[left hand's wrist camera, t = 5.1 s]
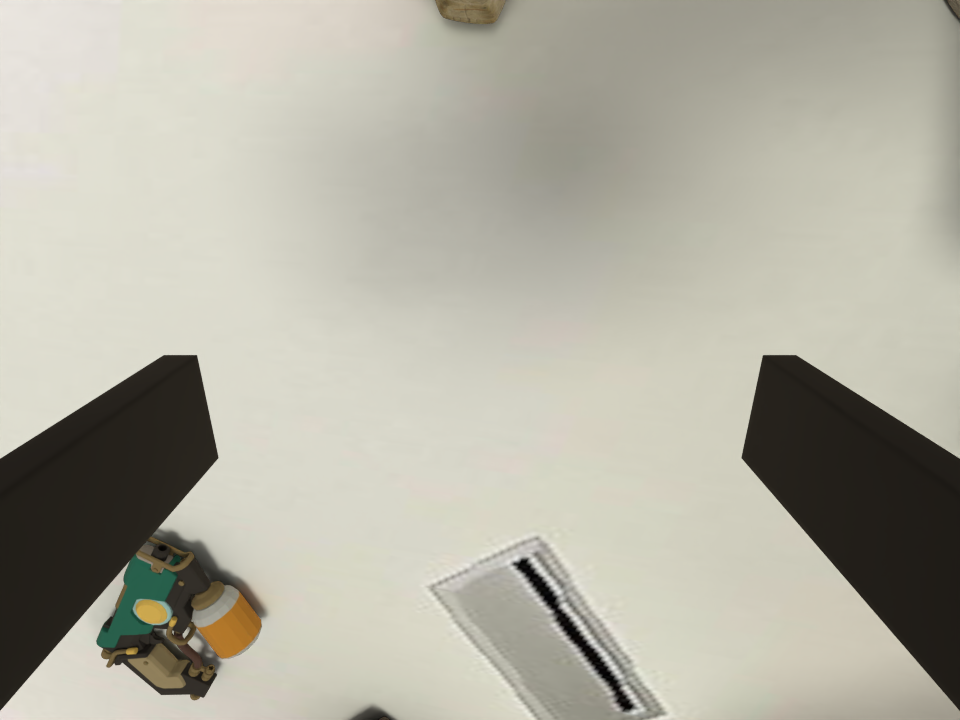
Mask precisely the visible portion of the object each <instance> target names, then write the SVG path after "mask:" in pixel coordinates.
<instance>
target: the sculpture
mask: <svg viewBox="0 0 960 720" xmlns="http://www.w3.org/2000/svg"><path fill="white" fill-rule="evenodd" d="M435 1H436V4H437V7H438V9H439V11H440V13H441V15H442V16H443V17H444V18H446V19H450V20H454V21H460V22H466V23H475V24H489V23H494V22H495V21H496V20H497V18H498V17H499V15H500V13H501V10H502V8H503V6H504V4H505V1H506V0H435Z"/></svg>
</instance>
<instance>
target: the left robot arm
mask: <svg viewBox="0 0 960 720" xmlns="http://www.w3.org/2000/svg"><path fill="white" fill-rule="evenodd" d="M947 1H948V3H949V4H950V6H951V8H952V9H953V11H954V12H955V13H956V15H957V16H958V17H959V18H960V0H947ZM217 459H218V453H217V448H216V444H215V439H214V434H213V429H212V425H211V420H210V415H209V410H208V406H207V401H206V396H205V391H204V387H203V382H202V377H201V372H200V367H199V363H198V358H197V355H164V356H162V357H160V358H159V359H157V360H156V361H154V362H152V363H151V364H149V365H148V366H146V367H145V368H143V369H141V370H140V371H138V372H137V373H135V374H134V375H132V376H130V377H129V378H127V379H126V380H124V381H122V382H121V383H119V384H118V385H116V386H115V387H113V388H111V389H110V390H108V391H107V392H105V393H103V394H102V395H100V396H99V397H97V398H96V399H94V400H92V401H91V402H89V403H88V404H86V405H85V406H83V407H81V408H80V409H78V410H77V411H75V412H73V413H72V414H70V415H69V416H67V417H66V418H64V419H62V420H61V421H59V422H58V423H56V424H54V425H53V426H51V427H50V428H48V429H47V430H45V431H43V432H42V433H40V434H39V435H37V436H36V437H34V438H32V439H31V440H29V441H28V442H26V443H24V444H23V445H21V446H20V447H18V448H17V449H15V450H13V451H12V452H10V453H9V454H7V455H5V456H4V457H2V458H1V459H0V710H1V709H2V708H3V707H4V706H5V705H6V703H7V702H8V701H9V700H10V699H11V698H12V696H13V695H14V694H15V693H16V692H17V691H18V689H19V688H20V687H21V686H22V685H23V684H24V683H25V681H26V680H27V679H28V678H29V677H30V676H31V674H32V673H33V672H34V671H35V670H36V669H37V667H38V666H39V665H40V664H41V663H42V662H43V661H44V659H45V658H46V657H47V656H48V655H49V654H50V652H51V651H52V650H53V649H54V648H55V647H56V645H57V644H58V643H59V642H60V641H61V640H62V639H63V637H64V636H65V635H66V634H67V633H68V632H69V630H70V629H71V628H72V627H73V626H74V625H75V623H76V622H77V621H78V620H79V619H80V618H81V617H82V615H83V614H84V613H85V612H86V611H87V610H88V608H89V607H90V606H91V605H92V604H93V603H94V601H95V600H96V599H97V598H98V597H99V596H100V595H101V593H102V592H103V591H104V590H105V589H106V588H107V586H108V585H109V584H110V583H111V582H112V581H113V579H114V578H115V577H116V576H117V575H118V574H119V573H120V571H121V570H122V569H123V568H124V567H125V566H126V564H127V563H128V562H129V561H130V560H131V559H132V558H133V556H134V555H135V554H136V553H137V552H138V551H139V549H140V548H141V547H142V546H143V545H144V544H145V542H146V541H147V540H148V539H149V538H150V537H151V536H152V534H153V533H154V532H155V531H156V530H157V529H158V527H159V526H160V525H161V524H162V523H163V522H164V520H165V519H166V518H167V517H168V516H169V515H170V514H171V512H172V511H173V510H174V509H175V508H176V507H177V505H178V504H179V503H180V502H181V501H182V500H183V498H184V497H185V496H186V495H187V494H188V493H189V492H190V490H191V489H192V488H193V487H194V486H195V485H196V483H197V482H198V481H199V480H200V479H201V478H202V476H203V475H204V474H205V473H206V472H207V471H208V470H209V468H210V467H211V466H212V465H213V464H214V463H215V461H216V460H217ZM742 459H743V460H744V461H745V463H746V464H747V465H748V466H749V467H750V468H751V470H752V471H753V472H754V473H755V474H756V475H757V476H758V478H759V479H760V480H761V481H762V482H763V483H764V485H765V486H766V487H767V488H768V489H769V490H770V492H771V493H772V494H773V495H774V496H775V497H776V498H777V500H778V501H779V502H780V503H781V504H782V505H783V507H784V508H785V509H786V510H787V511H788V512H789V514H790V515H791V516H792V517H793V518H794V519H795V520H796V522H797V523H798V524H799V525H800V526H801V527H802V529H803V530H804V531H805V532H806V533H807V534H808V536H809V537H810V538H811V539H812V540H813V541H814V542H815V544H816V545H817V546H818V547H819V548H820V549H821V551H822V552H823V553H824V554H825V555H826V556H827V558H828V559H829V560H830V561H831V562H832V563H833V564H834V566H835V567H836V568H837V569H838V570H839V571H840V573H841V574H842V575H843V576H844V577H845V578H846V579H847V581H848V582H849V583H850V584H851V585H852V586H853V588H854V589H855V590H856V591H857V592H858V593H859V595H860V596H861V597H862V598H863V599H864V600H865V601H866V603H867V604H868V605H869V606H870V607H871V608H872V610H873V611H874V612H875V613H876V614H877V615H878V617H879V618H880V619H881V620H882V621H883V622H884V623H885V625H886V626H887V627H888V628H889V629H890V630H891V632H892V633H893V634H894V635H895V636H896V637H897V639H898V640H899V641H900V642H901V643H902V644H903V645H904V647H905V648H906V649H907V650H908V651H909V652H910V654H911V655H912V656H913V657H914V658H915V659H916V661H917V662H918V663H919V664H920V665H921V666H922V667H923V669H924V670H925V671H926V672H927V673H928V674H929V676H930V677H931V678H932V679H933V680H934V681H935V683H936V684H937V685H938V686H939V687H940V688H941V689H942V691H943V692H944V693H945V694H946V695H947V696H948V698H949V699H950V700H951V701H952V702H953V703H954V705H955V706H956V707H957V708H958V709H959V710H960V459H959V458H958V457H956V456H955V455H953V454H951V453H950V452H948V451H947V450H945V449H943V448H942V447H940V446H939V445H937V444H936V443H934V442H932V441H931V440H929V439H928V438H926V437H924V436H923V435H921V434H920V433H918V432H917V431H915V430H913V429H912V428H910V427H909V426H907V425H906V424H904V423H902V422H901V421H899V420H898V419H896V418H894V417H893V416H891V415H890V414H888V413H887V412H885V411H883V410H882V409H880V408H879V407H877V406H875V405H874V404H872V403H871V402H869V401H868V400H866V399H864V398H863V397H861V396H860V395H858V394H857V393H855V392H853V391H852V390H850V389H849V388H847V387H845V386H844V385H842V384H841V383H839V382H838V381H836V380H834V379H833V378H831V377H830V376H828V375H826V374H825V373H823V372H822V371H820V370H819V369H817V368H815V367H814V366H812V365H811V364H809V363H808V362H806V361H804V360H803V359H801V358H800V357H798V356H796V355H763V358H762V363H761V367H760V372H759V377H758V382H757V387H756V391H755V396H754V401H753V406H752V410H751V415H750V420H749V425H748V429H747V434H746V439H745V444H744V448H743V453H742Z"/></svg>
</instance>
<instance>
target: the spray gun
mask: <svg viewBox="0 0 960 720" xmlns="http://www.w3.org/2000/svg"><path fill="white" fill-rule="evenodd" d="M147 541H149V542H152V543H154V544H156V546H155V547H153V546H151V545H143V546H142V547H141V548H140V549H139V551H138V552H137V553H136V554H135V555H134V556H133V558H132V559H131V560H130V562H129V565H128V567H127V569H126V572H125V574H124V583H125V584H124V586H123V589H122V591H121V593H120V596H119V598H118V600H117V603H116V608H117V609H116V611H115V614H114V616H113V617H110V618H109V619H108V620H107V621H106V622H105V623H104V624H103V626H102V629H101V631H100V633H99V636H98V638H97V641H96V642H97V645H98V646H100V647H102V648H103V651H102V653H101V656H102V658H103V659H109V661H108V663H107V665H106V666H107V667H108V668H110V667H111V666H112V665H113V664H114V663H115V665H120V664H121V663H124V664H125V665H126V666H127V667H128V668H130V669H131V670H132V671H133V672H134V673H136V674H137V675H138V676H139V677H140V678H142V679H143V680H144V681H145V682H146V683H148V684H149V685H150V686H151V687H152V688H154V689H155V690H156V691H157V692H158V693H160V694H161V695H182V694H190V697H191V699H192V700H197V699H199V698H200V697H203V698H204V697H205V695H206V693H207V691H208V690H209V688H210V686H211V684H212V683H213V681H214V679H215V678H216V676H217V674H216V673H214V672H215V666H214V665H212V664H211V665H209V666H207V667H205V666H203V662H202V659H201V657H200V655H199V654H198V653H197V652H196V651H195V650H193V649H192V648H191V647H190V646H189V645H188V644H187V643H188V641H189V640H190V639H191V638H192V637H193V635H194V633H195V631H196V627H197V629H198V630H199V631H200V633H201V634H202V635H203V637H204V638H205V639H206V641H207V642H208V643H209V645H210V646H211V647H212V649H213V650H214V651H215V652H216V654H217V655H218V656H219V657H220V658H222V659H228V658H232V657H235V656H238V655H240V654H242V653H243V652H245V651H246V650H247V649H248V648H249V647H250V646H251V645H252V644H253V643H254V642H255V641H256V640H257V639H258V636H259V633H260V630H261V627H262V624H261V619H260V618H259V617H258V615H257V614H256V613H255V611H254V610H253V609H252V608H251V606H250V605H249V604H248V602H247V601H246V600H245V598H244V597H243V596H242V594H241V593H240V592H239V591H238V590H237V589H236V588H234V587H232V586H231V585H223V583H222V582H220V581H214V582H212V583H210V581H209V579H208V578H207V576H206V574H205V573H204V571H203V570H202V568H201V567H200V565H199V563H198V562H197V560H196V559H195V558H194V557H195V556H194V554H193V553H192V552H191V551H190V552H186V553H185V552H183V551H181V550H179V549H177V548H175V547H172V546H170V545H168V544H166V543H164V542H162V541H160V540H158V539H156V538H154V537H150V538H149V539H148V540H147ZM174 553H175V554H177V555H175V556H174V557H173V555H174ZM178 555H179V556H178ZM180 556H182V557H184V559H182V560H181V559H180ZM185 557H187V558H185ZM192 594H196V595H195V596H194V598H193V599H192V603H191V600H190V597H191V595H192ZM192 618H193V622H191V619H192ZM187 627H190V629H191V630H190V632H189V633H188V635H187V636H186V637H185V639H184V638H183V636H182V633H184V631H185V630H186V628H187ZM153 628H157V629H167V631H166V635H167V638H168V639H169V640H170V641H171V642H172V643H174V644H176V645H177V646H178V647H179V648H180V650H181V651H182V652H183V653H184V654H185V655H186V656H188V657H189V658H190V659H191V660H192V661H193V663H191V662H190V661H189V660H178V659H177V658H176V657H175V656H174V655H173V654H172V653H171V652H170V651H169V650H168V649H167V648H166V647H165V646H164V645H163V644H162V642H163V641H164V639H163V638H160V637H159V636H156V635H155V633H154V632H153ZM172 630H173V631H174V635H173V634H172Z"/></svg>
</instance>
